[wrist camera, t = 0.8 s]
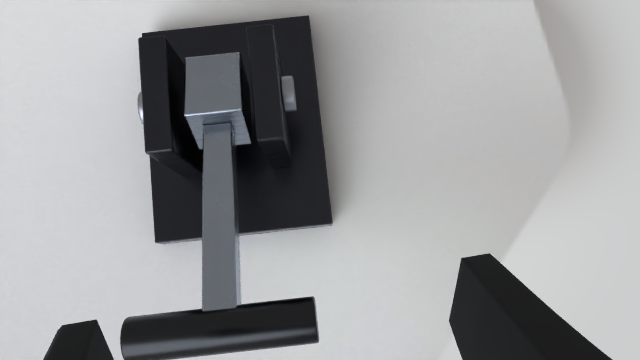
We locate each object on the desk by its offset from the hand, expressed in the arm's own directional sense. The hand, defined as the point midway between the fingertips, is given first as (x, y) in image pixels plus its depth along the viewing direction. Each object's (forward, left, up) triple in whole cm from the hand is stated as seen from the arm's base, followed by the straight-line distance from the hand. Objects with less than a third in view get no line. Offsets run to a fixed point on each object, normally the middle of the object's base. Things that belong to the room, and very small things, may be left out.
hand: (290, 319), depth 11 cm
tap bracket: (+8, +3, -15) cm, 17 cm away
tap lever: (+4, +3, -9) cm, 10 cm away
